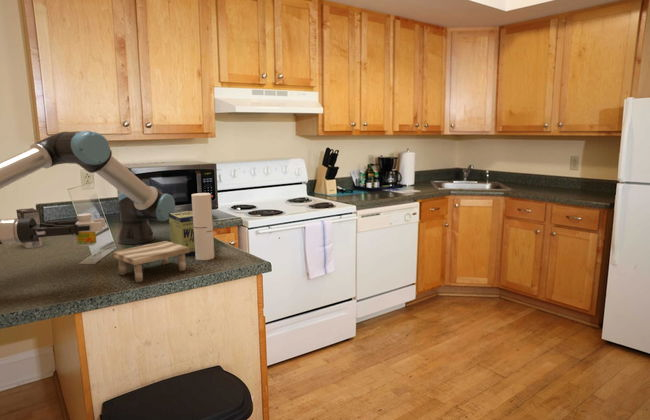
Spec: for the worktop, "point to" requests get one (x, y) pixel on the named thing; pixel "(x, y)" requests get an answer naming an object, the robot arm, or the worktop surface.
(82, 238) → the supplement bottle
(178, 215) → the protein box
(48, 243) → the worktop surface
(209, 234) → the cylindrical container
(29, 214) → the coffee box
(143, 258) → the light wood low table
